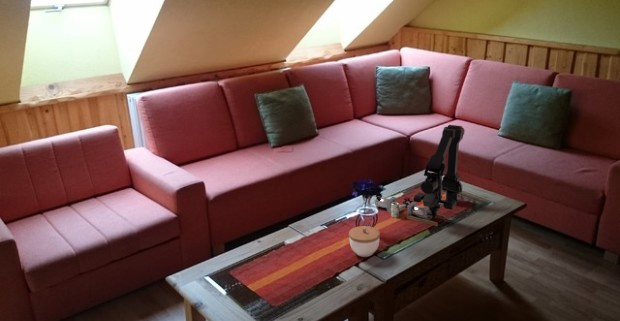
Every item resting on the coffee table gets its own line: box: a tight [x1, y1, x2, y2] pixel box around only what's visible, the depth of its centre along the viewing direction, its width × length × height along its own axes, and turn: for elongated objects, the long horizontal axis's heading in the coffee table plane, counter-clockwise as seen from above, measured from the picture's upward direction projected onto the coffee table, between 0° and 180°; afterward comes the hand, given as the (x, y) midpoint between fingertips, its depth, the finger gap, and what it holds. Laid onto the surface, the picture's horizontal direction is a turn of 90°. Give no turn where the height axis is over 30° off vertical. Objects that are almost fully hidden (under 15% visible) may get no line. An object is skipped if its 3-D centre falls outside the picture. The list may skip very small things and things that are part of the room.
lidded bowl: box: [348, 225, 381, 258], centre depth 214 cm, size 13×13×11 cm
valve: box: [390, 197, 414, 219], centre depth 249 cm, size 7×7×12 cm
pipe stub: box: [374, 196, 398, 214], centre depth 255 cm, size 9×6×6 cm, turn 53°
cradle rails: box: [406, 213, 446, 227], centre depth 243 cm, size 9×15×2 cm, turn 53°
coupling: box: [406, 201, 433, 221], centre depth 244 cm, size 10×6×6 cm, turn 52°
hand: (434, 217), depth 240 cm, fingers closed
